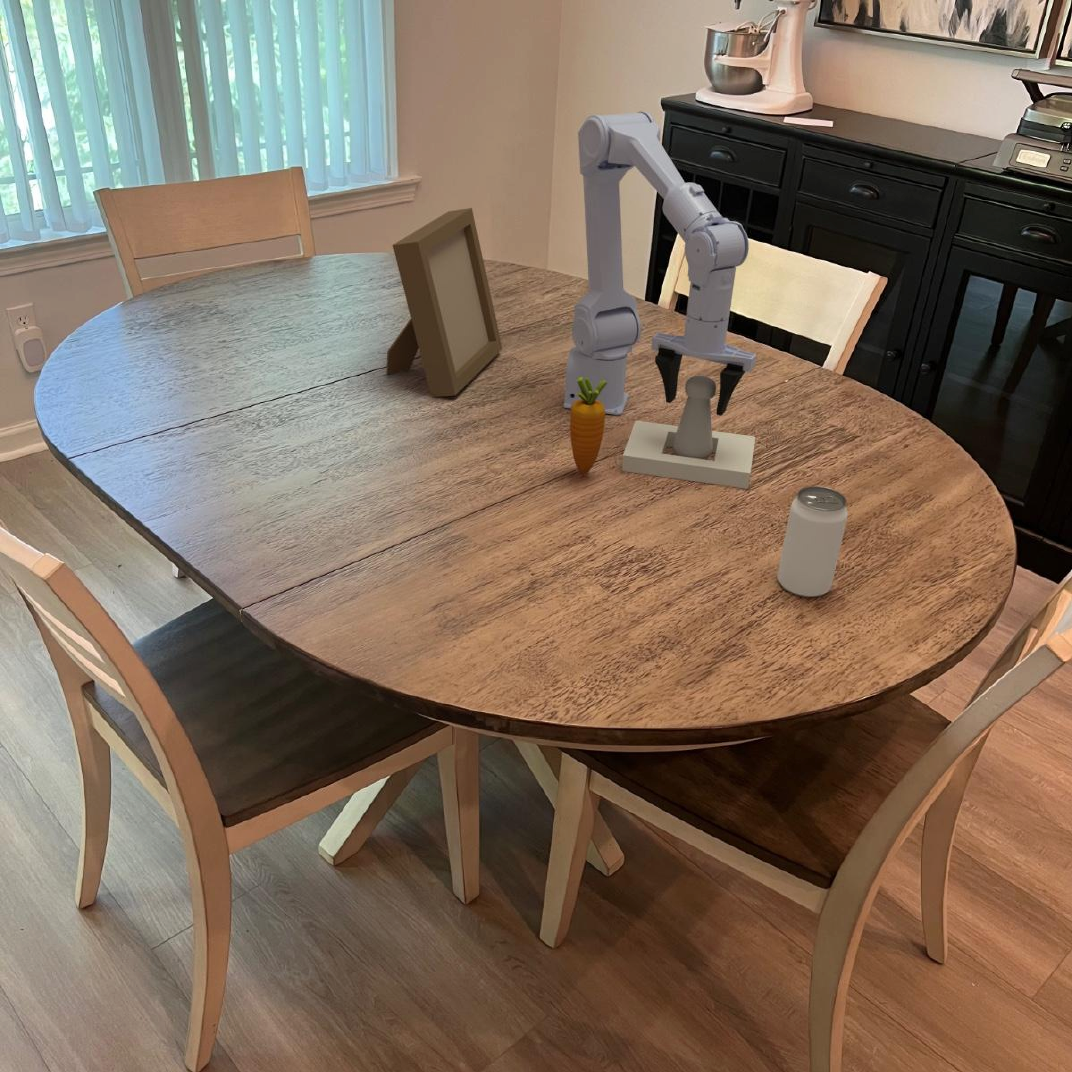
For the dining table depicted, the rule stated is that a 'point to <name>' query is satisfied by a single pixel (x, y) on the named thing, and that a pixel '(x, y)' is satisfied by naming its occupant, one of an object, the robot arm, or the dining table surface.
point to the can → (812, 541)
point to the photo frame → (445, 304)
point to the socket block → (724, 470)
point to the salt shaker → (696, 420)
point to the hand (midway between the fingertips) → (695, 406)
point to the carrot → (587, 425)
